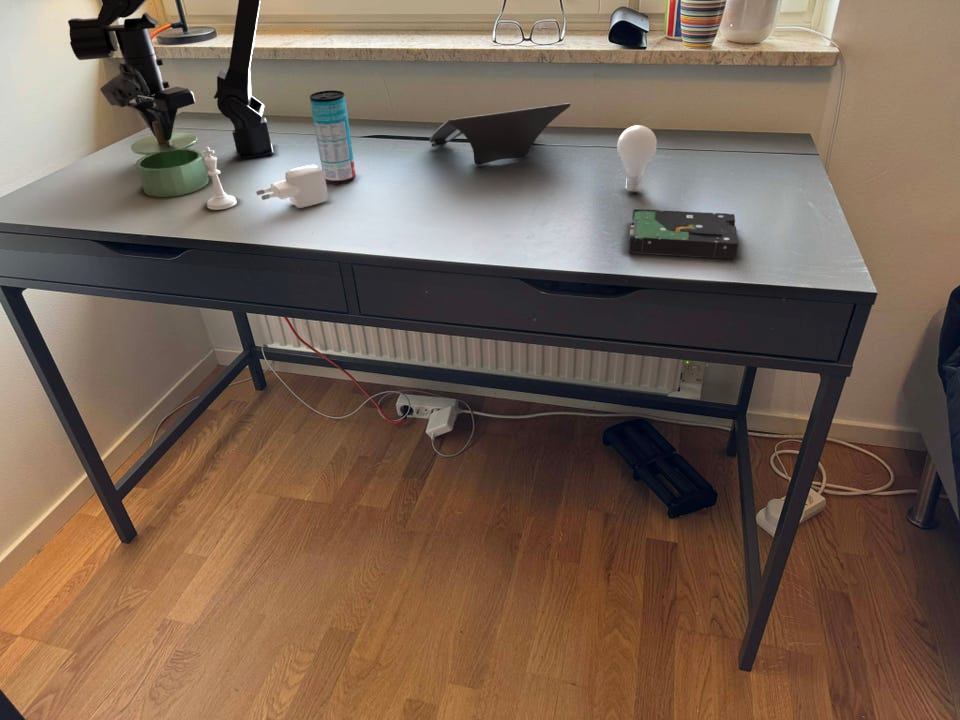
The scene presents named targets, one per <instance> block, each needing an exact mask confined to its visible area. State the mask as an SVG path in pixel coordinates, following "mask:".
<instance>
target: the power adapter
mask: <svg viewBox="0 0 960 720" xmlns="http://www.w3.org/2000/svg"><path fill="white" fill-rule="evenodd" d="M284 178H285V179H283V180H280V181H275V182H272V183H271V184H270V187H268V188H265V189H260V190H256V191H255V192H256V196H261V200H263V201H265V200H268V199H271V198H272V199H273V198H275V197H277V198H278V199H279V200H284V199H288V198H289V201H290V202H291V203H292V205H293V206H294V207H296V208H299V209H303V208H307V207H311V206H315V205H319V204H322V203H325V202H326V201H328V199H329V198H328V197H329V195H328V189H327V182H326V181H325V176H324V172H323V171H322V167H321V168H320V166H318V165H315V164H309V165H305V166H300V167H296V168H293V169H289V170H287V171H286V172H285V175H284Z"/></svg>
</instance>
